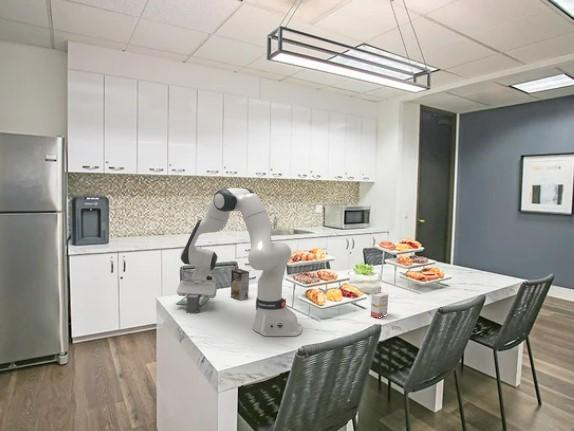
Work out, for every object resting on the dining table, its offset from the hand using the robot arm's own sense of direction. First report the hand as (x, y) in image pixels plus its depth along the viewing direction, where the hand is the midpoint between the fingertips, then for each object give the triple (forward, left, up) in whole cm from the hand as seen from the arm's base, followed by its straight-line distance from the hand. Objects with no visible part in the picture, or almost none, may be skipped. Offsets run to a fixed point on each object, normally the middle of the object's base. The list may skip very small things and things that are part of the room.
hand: (192, 303), depth 186 cm
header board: (+6, -17, -4) cm, 18 cm away
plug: (0, -1, -4) cm, 4 cm away
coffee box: (-17, -29, -5) cm, 34 cm away
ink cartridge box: (-94, -15, -5) cm, 95 cm away
